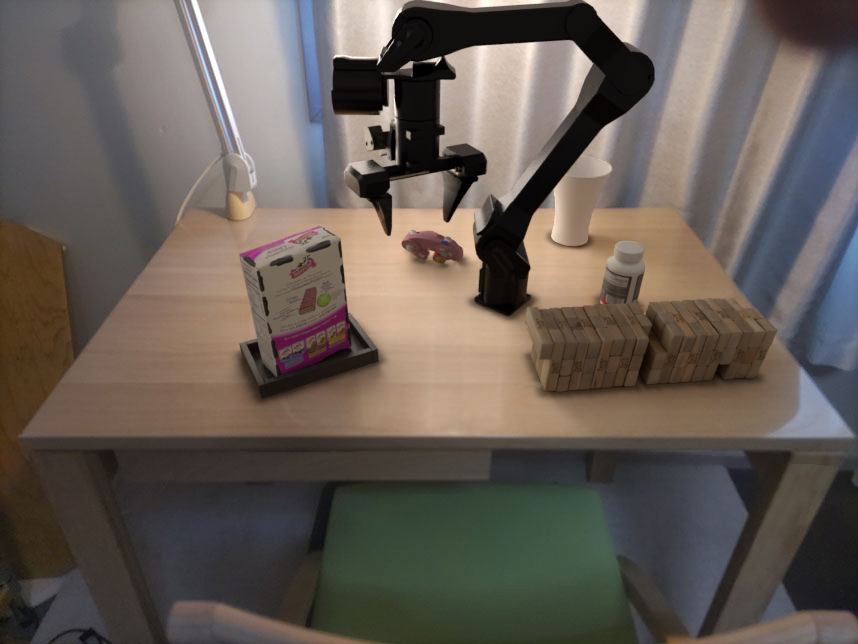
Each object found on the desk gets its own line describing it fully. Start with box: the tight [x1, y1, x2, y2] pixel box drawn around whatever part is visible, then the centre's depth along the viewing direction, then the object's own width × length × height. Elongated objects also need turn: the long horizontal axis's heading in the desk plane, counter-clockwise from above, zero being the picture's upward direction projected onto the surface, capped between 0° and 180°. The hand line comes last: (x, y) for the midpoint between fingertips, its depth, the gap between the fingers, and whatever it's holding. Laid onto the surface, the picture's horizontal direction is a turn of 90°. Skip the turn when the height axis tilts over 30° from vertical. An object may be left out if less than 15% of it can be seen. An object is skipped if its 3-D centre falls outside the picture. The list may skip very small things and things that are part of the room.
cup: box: [550, 154, 614, 247], centre depth 105 cm, size 10×10×14 cm
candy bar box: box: [238, 225, 352, 377], centre depth 74 cm, size 11×5×16 cm, turn 131°
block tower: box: [524, 296, 778, 393], centre depth 76 cm, size 8×8×29 cm
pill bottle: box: [599, 240, 646, 305], centre depth 88 cm, size 5×5×10 cm
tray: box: [238, 312, 379, 399], centre depth 79 cm, size 16×10×2 cm, turn 118°
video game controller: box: [401, 229, 464, 265], centre depth 100 cm, size 10×5×7 cm, turn 68°
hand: (417, 228), depth 84 cm, fingers open, 9 cm apart
